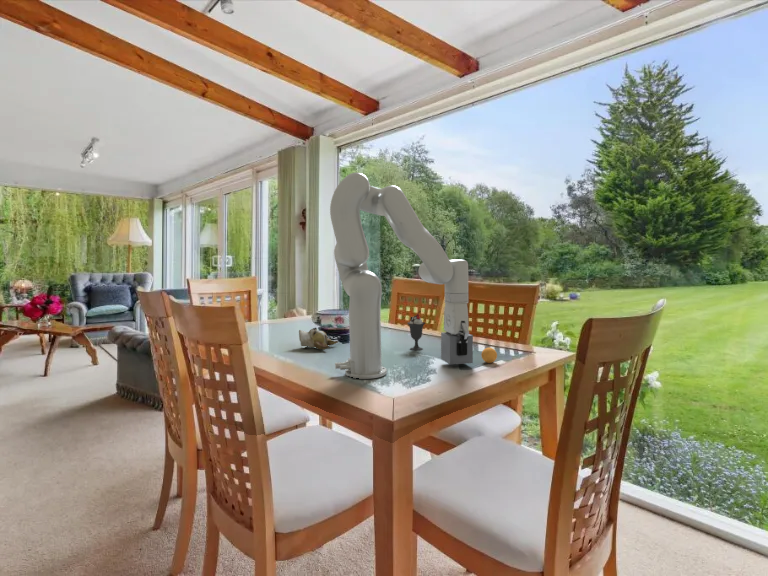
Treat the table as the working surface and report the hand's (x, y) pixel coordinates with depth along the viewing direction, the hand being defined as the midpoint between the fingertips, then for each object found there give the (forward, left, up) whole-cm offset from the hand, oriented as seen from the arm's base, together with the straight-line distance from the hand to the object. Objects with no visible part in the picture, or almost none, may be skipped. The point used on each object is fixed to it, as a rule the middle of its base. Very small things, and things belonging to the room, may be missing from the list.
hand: (456, 352), depth 140 cm
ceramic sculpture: (-42, +41, -5) cm, 59 cm away
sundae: (-5, +27, -5) cm, 28 cm away
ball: (+11, 0, -2) cm, 12 cm away
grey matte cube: (0, 0, -3) cm, 3 cm away
